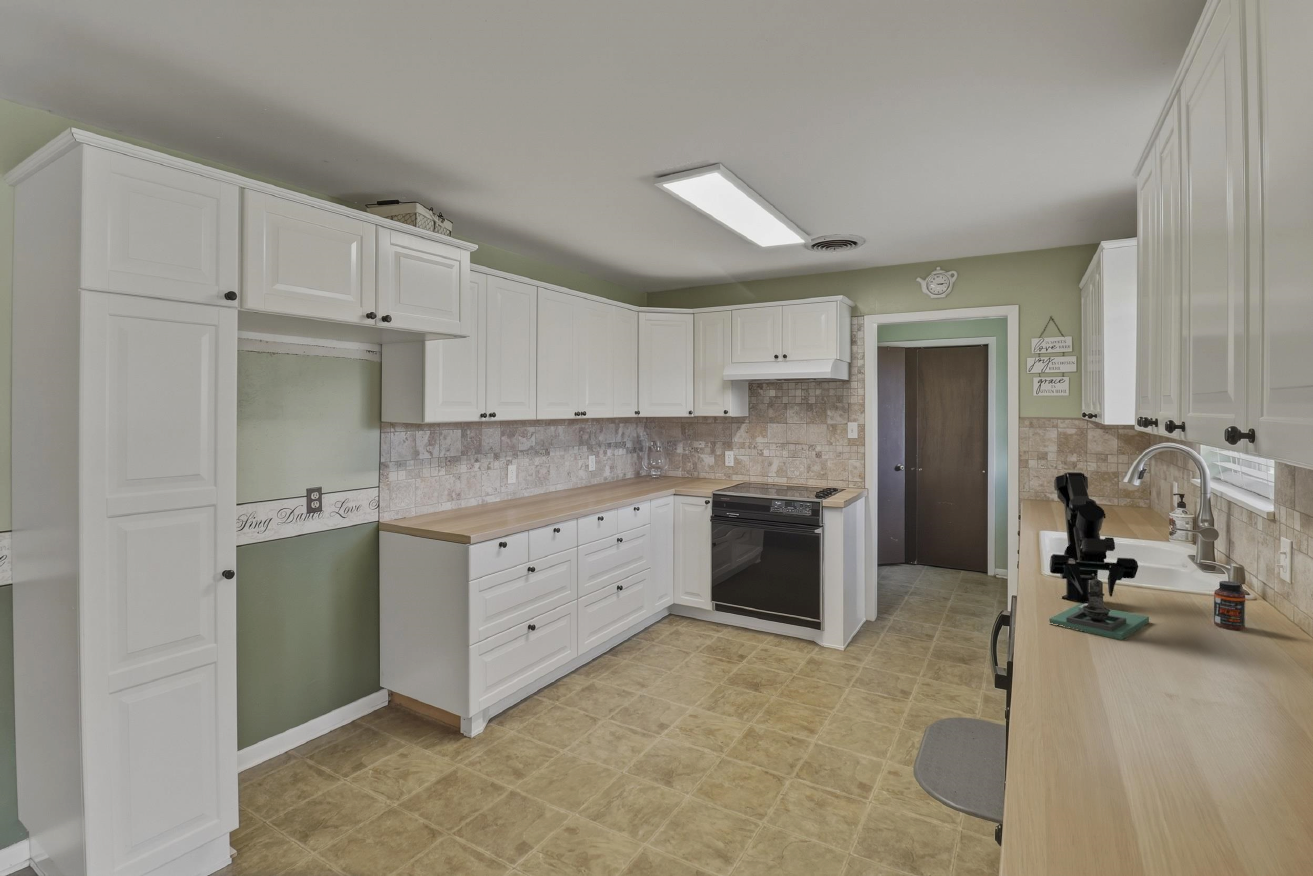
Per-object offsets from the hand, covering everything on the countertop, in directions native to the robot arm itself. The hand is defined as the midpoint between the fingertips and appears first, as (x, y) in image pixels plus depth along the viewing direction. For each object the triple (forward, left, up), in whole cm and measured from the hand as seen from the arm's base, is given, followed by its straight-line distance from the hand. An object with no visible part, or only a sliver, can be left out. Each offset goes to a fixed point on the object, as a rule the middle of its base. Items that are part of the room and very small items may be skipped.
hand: (1097, 594), depth 163 cm
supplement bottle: (-26, +20, -9) cm, 34 cm away
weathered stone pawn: (-1, -1, -8) cm, 8 cm away
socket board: (-6, -2, -9) cm, 11 cm away
